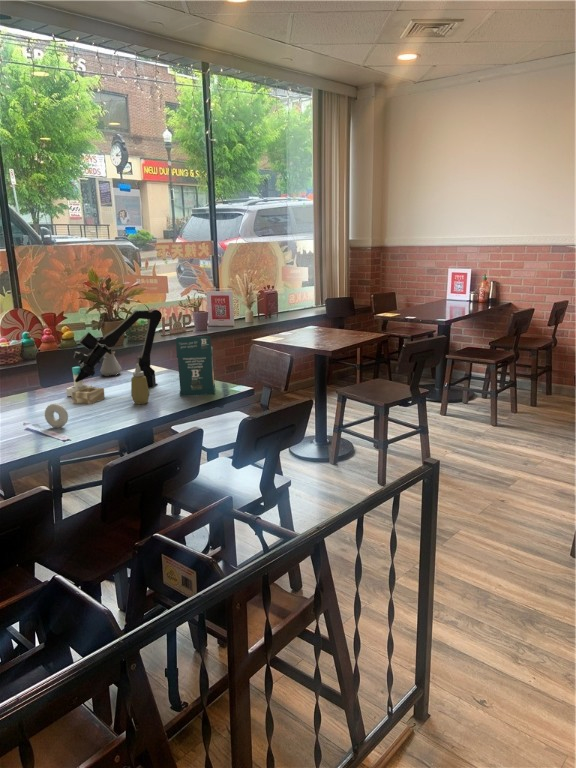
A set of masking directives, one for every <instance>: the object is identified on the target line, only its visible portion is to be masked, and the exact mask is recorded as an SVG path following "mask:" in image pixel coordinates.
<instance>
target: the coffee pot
mask: <svg viewBox="0 0 576 768" xmlns="http://www.w3.org/2000/svg"><path fill="white" fill-rule="evenodd" d="M111 353H112V354H111V355H110V354H109V353H108V352H107V353H106V355H105V356H104V357H103V358H102V359H103V360H102V364H101V367H100V370H99V371H100V374H102V375H104V376H105V377H110V376H109V375H115V376H117V375H116V374H117V373H119V374H120V373H121V372H122V367H121V365H120V363H119V361H118V360H117V358H116V356H115V353H116V351H112V350H111Z"/></svg>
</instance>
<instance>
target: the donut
mask: <svg viewBox="0 0 576 768" xmlns="http://www.w3.org/2000/svg"><path fill="white" fill-rule="evenodd" d="M55 413H56V414H57V415H58V419H57V418H56V416H55ZM68 414H69V413H68V411H67V410H66V408H65V407H64V406H63V405H61V404H60V403H55V402H54V403H51V404H49V405H47V406H46V408H45V410H44V418H45V421H46V422H47V423H48V425H49V426H51V427H53V428H56V429H58V428H63V427H64V426H65V425H66V424H67V423H68V421H69V415H68Z"/></svg>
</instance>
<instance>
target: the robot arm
mask: <svg viewBox="0 0 576 768" xmlns="http://www.w3.org/2000/svg"><path fill="white" fill-rule="evenodd" d="M162 317H163V316H162V313H161V311H160V310H158V309H156V308H152V309H149V310H138V309H135V310H133V311H132V313H131V314H130V315H129V316H128V317H126V318H125V319H124V321H123V322H121V323H120V324H118V326H116V328H114V329H113V330H111V331H109V332H108V333H106V334H104V336H102V337H95V335H93V334H92V333H91V332H89V331H88V332H87V333H86V334H85V335H83V336H82V337H81V339H80V340H79V342H78V343H79V344H80V345H81V346H83V347H84V348H85V349H87V350H88V351H89V350H92V351H91V352H90V353H89V352H88V354H85V353H84V352H81V351H74V355H73V359H74V360H78V367H80V373H79V375H78V376H77V378H76V380H75V382H78V381H80V380H82V379H83V380H84V379H86V378H88V377H93V376H94V375H95V374H96V371H95V369H96V366H97V365H98V364H100V363H101V361H102V359H104V358H103V357H105V355H106V353H107V352H108V353H109V354H110V355H111V354H112V353H111V351H112V348H113V347H115V345H116V344H117V343H118V341H120V338H121V337H122V336H123V334H124V333H125V332H127V331H128V330H129V329H130V328H131V327H132V326H133V325H134V324H135V323H136V322H137V321H139V319H143V320H146V321H147V327H146V334H145V337H144V340H143V341H144V342H143V346H142V350H141V354H140V355H136V361H135V365H136V364H139V366H140V370H141V371H143V372H144V375H143V376H145V377H146V379H147V384H148V388H154V387H156V386H158V384H159V383H157V381H156V380H157V379H156V371H155V369H154V368H152V367H151V352H152V348H153V343H154V339H155V335H156V332H157V328H158V326H159V324H160V322H161V320H162Z"/></svg>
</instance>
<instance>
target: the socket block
mask: <svg viewBox="0 0 576 768" xmlns="http://www.w3.org/2000/svg"><path fill="white" fill-rule="evenodd" d="M72 396H73V397H72V402H73V403H74V404H89V405H92V404H95V403H97V402H99V401H101V400H103V399H104V400H105V399H106V398H105V396H106V395H105V388H104V387H93V386H92V387H84V388H82V389H79V390H77V391H74V392H72ZM73 403H72V404H73Z"/></svg>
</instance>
